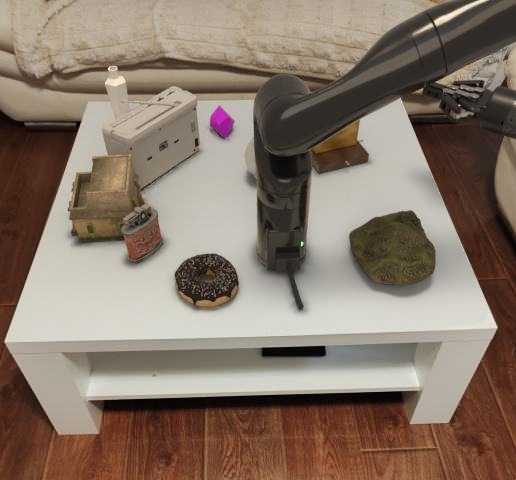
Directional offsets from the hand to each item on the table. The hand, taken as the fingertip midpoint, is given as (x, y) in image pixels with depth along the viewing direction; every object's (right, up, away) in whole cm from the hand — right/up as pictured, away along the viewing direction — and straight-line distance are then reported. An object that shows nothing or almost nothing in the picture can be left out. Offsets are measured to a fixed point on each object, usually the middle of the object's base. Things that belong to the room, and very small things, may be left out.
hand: (424, 87), depth 108 cm
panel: (-15, -6, +19) cm, 25 cm away
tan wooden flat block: (-15, -5, +18) cm, 24 cm away
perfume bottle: (-63, +1, +26) cm, 68 cm away
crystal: (-40, +1, +26) cm, 48 cm away
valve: (-29, -8, +19) cm, 35 cm away
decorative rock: (-7, -34, -1) cm, 35 cm away
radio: (-54, -9, +18) cm, 57 cm away
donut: (-41, -39, -4) cm, 57 cm away
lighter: (-53, -31, +1) cm, 62 cm away
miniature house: (-62, -24, +7) cm, 66 cm away
